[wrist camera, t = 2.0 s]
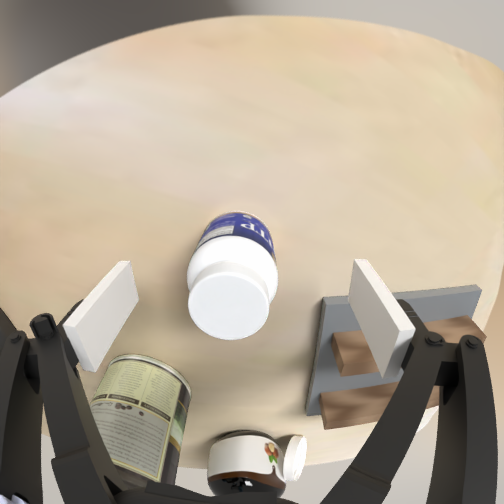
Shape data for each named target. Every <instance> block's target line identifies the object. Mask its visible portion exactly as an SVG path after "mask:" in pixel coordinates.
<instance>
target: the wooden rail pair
mask: <svg viewBox="0 0 504 504" xmlns="http://www.w3.org/2000/svg"><path fill="white" fill-rule="evenodd" d="M424 325H425V326H426V328H427V329H428V331H432V332H436V333H438V334H440V335H441V336H442V337H443V338H444V339H445V341H446V342H448V343H459V341H460V338H461V337H462V336H464V335H473V336H476V337H478V338H479V339H480V340H481V341H482V343H484V341H485V339H486V335H485V334H484V333H483V332H482V331H481V330H480V328H479V327H478V326H477V325H476V324H475V323H474V322H473V321H472V319H471V318H470V317H469V316H468V315H465V316H460V317H454V318H449V319H443V320H437V321H431V322H424ZM331 348H332V351H333V354H334V357H335V360H336V363H337V367H338V370H339V373H340V377H345V376H353V375H361V374H368V373H374V372H380V371H379V369H378V367H377V364H376V362H375V359H374V357H373V355H372V352H371V350H370V348H369V345H368V343H367V341H366V339H365V336H364V334H363V332H362V330H358V331H347V332H335V333H333V336H332V341H331ZM401 368H402V367H401ZM398 384H399V381H398V382H393V383H387V384H382V385H376V386H370V387H363V388H357V389H349V390H342V391H333V392H323V393H320V398H319V405H320V410H321V415H322V420H323V425H324V430H326V429H334V428H342V427H348V426H354V425H360V424H366V423H371V422H376V421H379V419H380V417H381V416H382V414H383V412H384V410H385V408H386V407H387V405H388V403H389V401H390V399H391V397H392V395H393V393H394V391H395V390H396V388H397V386H398ZM438 405H439V386H434V387H433V390H432V393H431V396H430V398H429V401H428V404H427V407H426V409H428V408H431V407H435V406H438Z"/></svg>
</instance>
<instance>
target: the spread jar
mask: <svg viewBox="0 0 504 504" xmlns="http://www.w3.org/2000/svg"><path fill="white" fill-rule="evenodd" d="M306 448H307V442H306V438H305V437H304V436H293V437H292V438H291V440H290V442H289V444H288V447H287V450H286V454H285V458H284V456H283V453H282V450H281V448H280V447H279V445H278V444H277V442H276V441H275V440H274V439H273V438H272V437H271V436H269V435H268V434H265V433H263V432H259V431H250V430H245V431H236V432H233V433H230V434H228V435H226V436H224V437H222V438H220V439H219V440H217V441H216V442H215V443H214V444H213V445H212V447H211V450H210V454H209V461H208V471H207V479H208V485H209V487H210V489H211V490H212V492H213V494H214V495H215V496H220V495H227V494H234V493H240V492H277V498H280V497H281V496H282V494H283V493H284V491H285V487H286V480H288V481H297V480H298V479H299V477H300V475H301V472H302V470H303V466H304V462H305V457H306Z"/></svg>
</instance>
